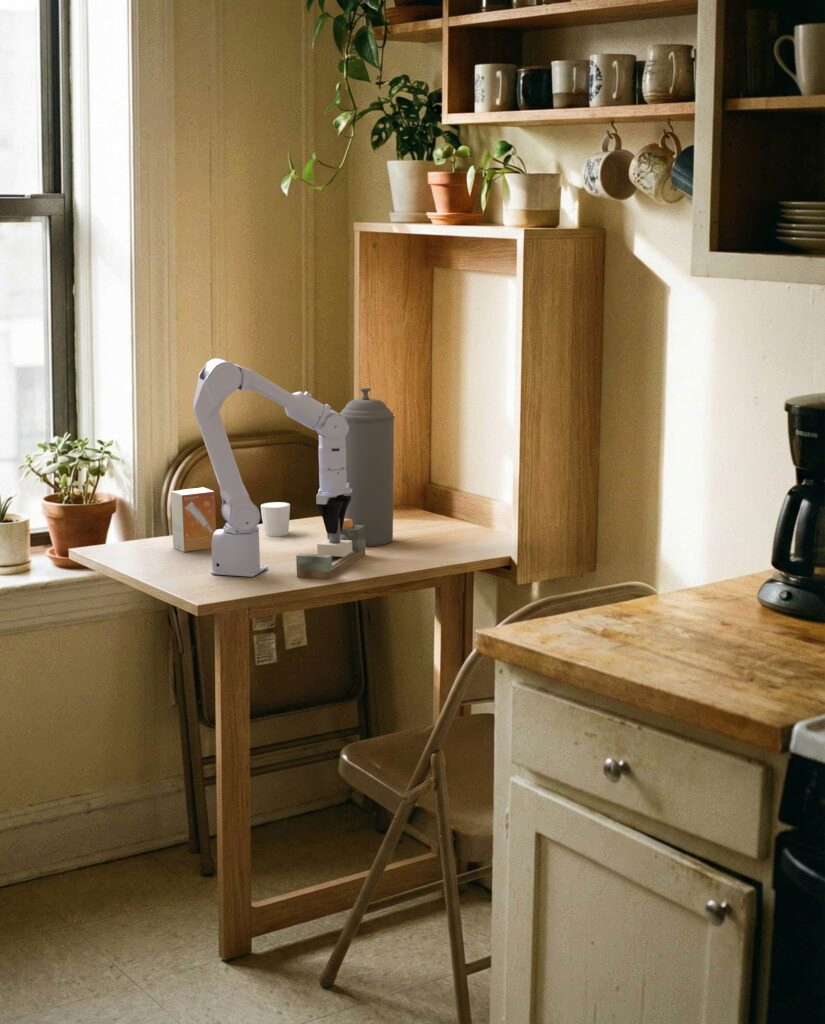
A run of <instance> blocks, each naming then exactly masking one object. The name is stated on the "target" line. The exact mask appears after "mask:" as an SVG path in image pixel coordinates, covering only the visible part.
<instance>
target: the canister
mask: <svg viewBox="0 0 825 1024" xmlns="http://www.w3.org/2000/svg"><path fill="white" fill-rule="evenodd" d="M359 391H360V392H361V393H362V396H361V398H357V399H353V400H349V402H347V404H345V407H344V408H343V409H342V410H341V411H340V412H339V413H340V414H342V415H343V416H344V417H345V419H346V420H347V423H348V425H349V431H348V433H347V435H346V436H345V446H346V474H347V483H350V489H352V492H351V493H346V494H344V495H345V496H351V501H350V503H349V505H348V507H347V510H346V513H345V518H344V519H352V524H353V525H365V547H375V546H382V545H386V544H389V543H391V542H392V540H393V538H394V537H393V536H394V535H393V532H394V460H395V458H394V457H395V455H394V451H395V450H394V448H395V447H394V442H395V440H394V436H395V434H394V433H395V432H394V428H395V427H394V425H395V424H394V422H395V420H394V419H395V416H394V412H393V411H391V409H390V408H389V407H387V405H386V403H384V401H382V400H380V399H377V398H370V397H369V394H368V393H369V392H370V391H371V387H360V388H359Z"/></svg>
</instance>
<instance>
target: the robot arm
mask: <svg viewBox="0 0 825 1024" xmlns="http://www.w3.org/2000/svg"><path fill="white" fill-rule="evenodd" d="M237 389H238V390H239V391H254V392H256V393H257V394H259V395H261V396H263V397H265V398H267V399H269V400H271V401H272V402H274V403H277V404H278V405H280V406H282V407H283V409H284V412H285V414H286V416H287V417H289V418H290V419H292V420H294V421H295V422H297V423H300V424H301V425H303V426H305V427H306V428H308V429H310V430H312V431H315V432H316V433H317V434H318V475H319V477H318V478H319V489H318V492H317V494H316V495H315V497H316V499H315V505H316V508H318V510H319V512H320V515H321V517H322V521H323V524H324V525H323V526H324V527H325V531H326V534H327V533H332V534H336V533H337V531H338V523H339V519H340V531H341V530H342V528H343V523H344V518H345V513H346V510H347V507H348V505H349V503H350V501H351V496H345V495H344V494H346V493H351V492H352V489H350V483H347V474H346V446H345V436H346V435H347V433H348V431H349V425H348V423H347V420H346V419H345V417H344V416H343V415H342V414H340V413H341V412H337V411H335V410H334V409H332V406H331V405H329V404H327V403H325V404H323V403H322V402H320V401H318V400H316V399H314V398H312V396H313V395H312V393H309V392H308V391H304V392H302V391H295V392H293V393H291V392H289V391H287V390H286V389H284V388H282V387H281V386H280V385H278V384H276V383H274V382H272V381H271V380H270V379H267V378H266V377H264V376H263V375H261V374H259V373H258V372H256V371H254V370H251V369H249V368H247V367H245V366H241V365H239V364H236V363H233V362H230V361H228V360H226V359H224V358H220V357H216V358H213V359H210V360H209V361H207V362H206V363H205V365H204V366H203V368H202V369H201V370H200V372H199V374H198V376H197V385H196V388H195V393H194V397H193V402H192V410H193V413H194V416H195V420H196V422H197V426H198V427H199V430H200V431H199V432H200V433H201V437H202V440H203V442H204V445H205V448H206V450H207V454H208V457H209V461H210V462H211V466H212V468H213V469H212V470H213V472H214V475H215V478H216V480H217V484H218V486H219V494H220V497H221V501H222V504H221V515H222V517H223V519H224V521H226V522H225V524H224V526H223V528H218V529H216V531H215V532H214V534H213V537H212V543H211V547H212V548H211V565H212V567H211V568H212V571H211V572H210V574H211V575H221V576H234V577H235V576H236V577H247V578H248V577H249V578H252V577H255V576H256V575H258V574H260V573H261V572H263V571H265V570H267V569H268V565H261V555H260V554H261V552H260V531H259V528H260V526H259V523H260V519H261V513H260V510H259V508H258V506H257V505H255V504H254V503H253V502H252V500H251V498H250V494H249V493H248V491H247V488H246V486H245V485H244V482H243V479H242V476H241V472H240V470H239V467H238V465H237V461H236V459H235V455H234V452H233V450H232V446H231V444H230V441H229V437H228V434H227V432H226V429H225V425H224V422H223V420H222V417H221V414H220V410H221V408H222V406H223V404H224V403H225V401H226V400H227V398H228V397H229V396H231V395H232V394H233V393H234V392H236V391H237Z"/></svg>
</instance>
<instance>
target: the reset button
mask: <svg viewBox="0 0 825 1024" xmlns="http://www.w3.org/2000/svg"><path fill="white" fill-rule="evenodd" d="M343 528H345V529H351V528H353V524H352V519H344V523H343Z"/></svg>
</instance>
